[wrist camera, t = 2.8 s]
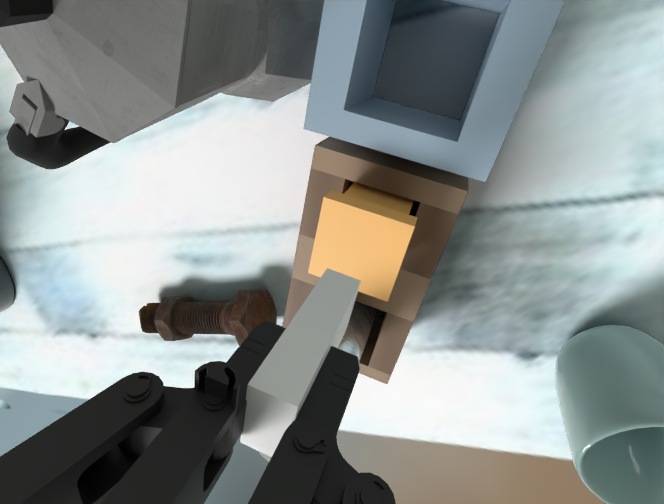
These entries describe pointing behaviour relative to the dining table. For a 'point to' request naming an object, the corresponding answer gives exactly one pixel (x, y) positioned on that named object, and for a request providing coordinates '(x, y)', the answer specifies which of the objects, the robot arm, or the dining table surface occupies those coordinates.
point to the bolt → (208, 316)
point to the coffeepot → (143, 64)
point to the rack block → (410, 123)
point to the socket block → (422, 252)
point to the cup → (614, 412)
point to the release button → (363, 237)
